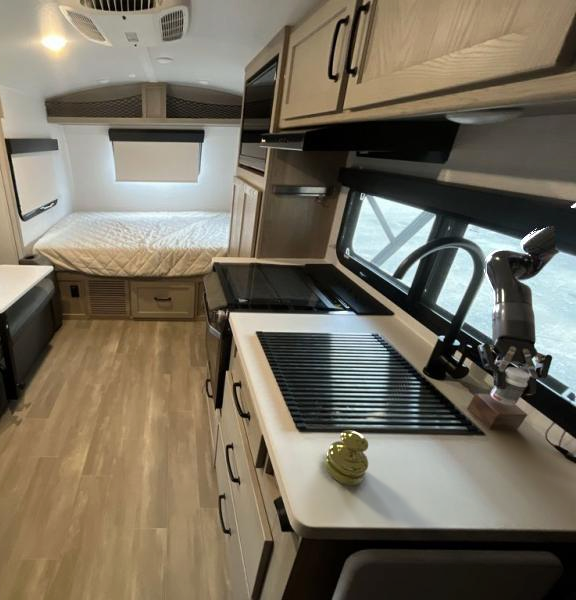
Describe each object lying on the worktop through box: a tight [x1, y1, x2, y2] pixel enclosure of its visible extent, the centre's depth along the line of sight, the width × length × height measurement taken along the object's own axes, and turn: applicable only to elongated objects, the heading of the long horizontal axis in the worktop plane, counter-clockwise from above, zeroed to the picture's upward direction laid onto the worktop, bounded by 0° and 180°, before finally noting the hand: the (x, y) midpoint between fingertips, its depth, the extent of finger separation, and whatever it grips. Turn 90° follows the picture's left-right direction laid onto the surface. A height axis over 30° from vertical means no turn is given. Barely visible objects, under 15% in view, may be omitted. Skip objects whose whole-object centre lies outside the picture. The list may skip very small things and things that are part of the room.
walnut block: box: [467, 393, 528, 431], centre depth 84 cm, size 7×7×5 cm
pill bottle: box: [490, 366, 530, 405], centre depth 80 cm, size 5×5×8 cm
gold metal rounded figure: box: [324, 429, 369, 486], centre depth 68 cm, size 7×7×10 cm
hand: (514, 391), depth 79 cm, fingers closed on pill bottle, 4 cm apart
